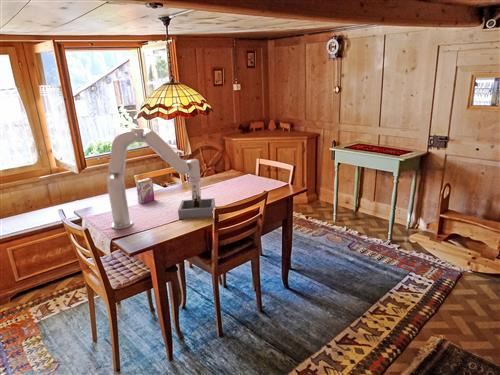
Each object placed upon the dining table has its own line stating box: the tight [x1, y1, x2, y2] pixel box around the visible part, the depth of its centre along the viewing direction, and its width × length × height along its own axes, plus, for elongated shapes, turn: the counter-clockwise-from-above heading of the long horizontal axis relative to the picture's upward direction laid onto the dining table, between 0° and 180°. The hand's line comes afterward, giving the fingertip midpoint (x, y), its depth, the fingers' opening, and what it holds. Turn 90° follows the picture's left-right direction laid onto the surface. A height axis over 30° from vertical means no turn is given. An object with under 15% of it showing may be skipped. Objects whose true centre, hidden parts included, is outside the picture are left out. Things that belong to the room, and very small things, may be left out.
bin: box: [177, 198, 216, 220], centre depth 236 cm, size 20×22×6 cm
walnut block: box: [191, 194, 202, 209], centre depth 235 cm, size 5×5×9 cm
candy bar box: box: [135, 177, 155, 205], centre depth 263 cm, size 11×5×16 cm, turn 141°
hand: (197, 205), depth 235 cm, fingers closed on walnut block, 5 cm apart
